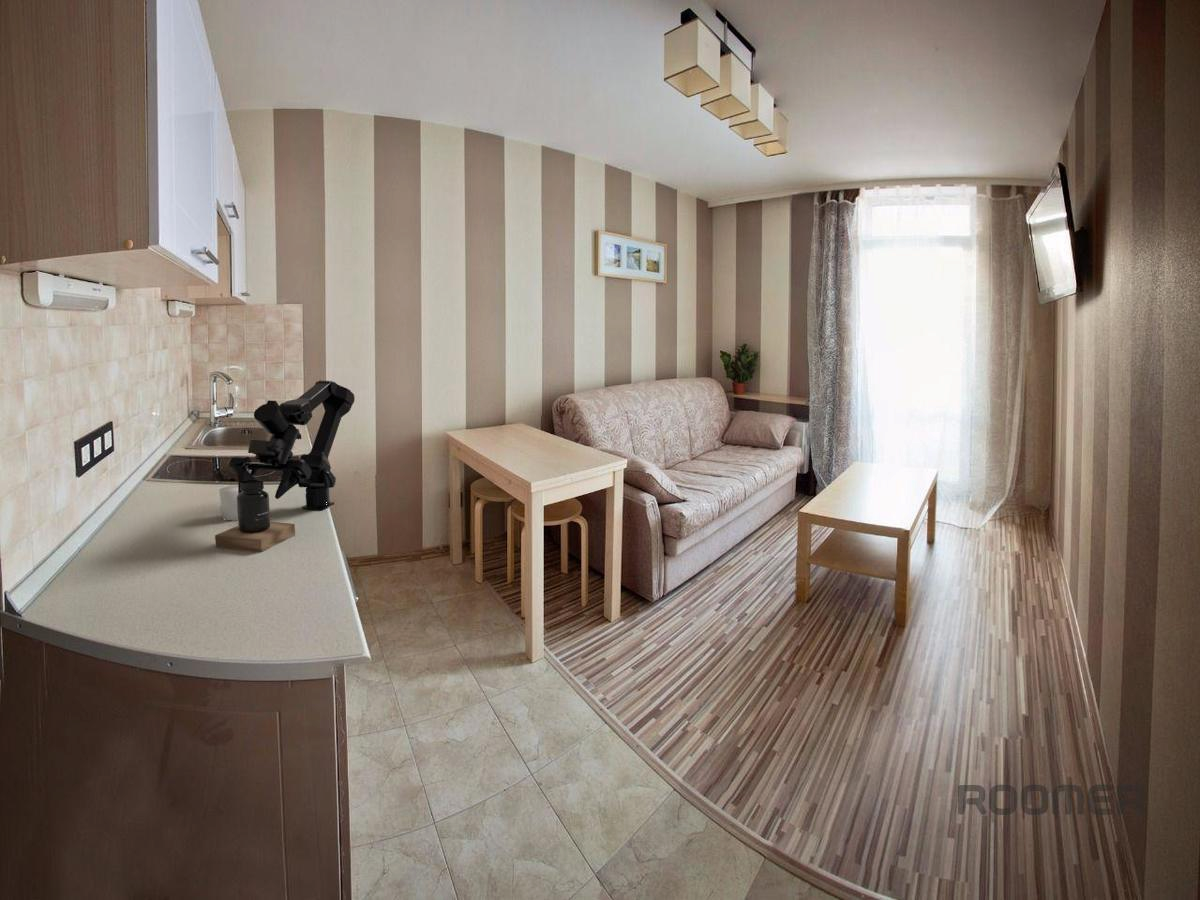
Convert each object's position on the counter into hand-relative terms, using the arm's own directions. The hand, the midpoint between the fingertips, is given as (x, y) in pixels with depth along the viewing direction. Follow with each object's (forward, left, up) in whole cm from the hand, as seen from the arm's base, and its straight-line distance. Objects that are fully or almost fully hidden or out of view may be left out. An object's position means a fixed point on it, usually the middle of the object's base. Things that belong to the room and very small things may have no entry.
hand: (258, 497), depth 145 cm
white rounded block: (-13, -18, -11) cm, 25 cm away
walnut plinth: (+2, 0, -11) cm, 11 cm away
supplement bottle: (+2, 0, -8) cm, 8 cm away
